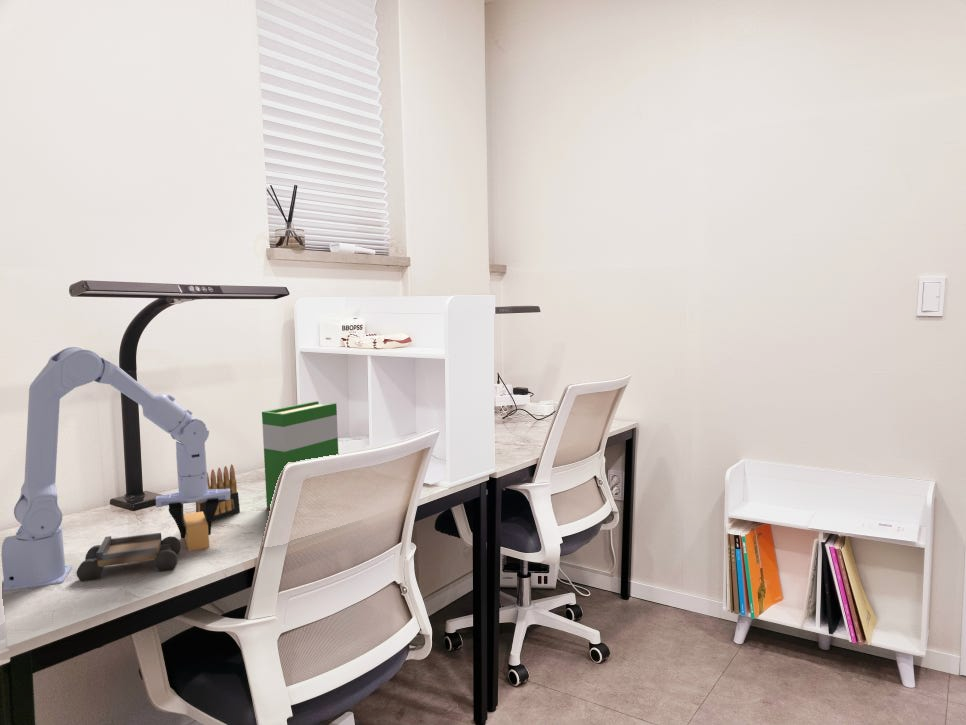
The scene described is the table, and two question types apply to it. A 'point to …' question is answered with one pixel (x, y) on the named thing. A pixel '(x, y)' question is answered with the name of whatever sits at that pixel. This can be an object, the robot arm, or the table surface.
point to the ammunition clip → (224, 506)
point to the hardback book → (297, 437)
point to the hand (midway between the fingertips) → (196, 535)
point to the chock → (196, 531)
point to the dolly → (130, 554)
